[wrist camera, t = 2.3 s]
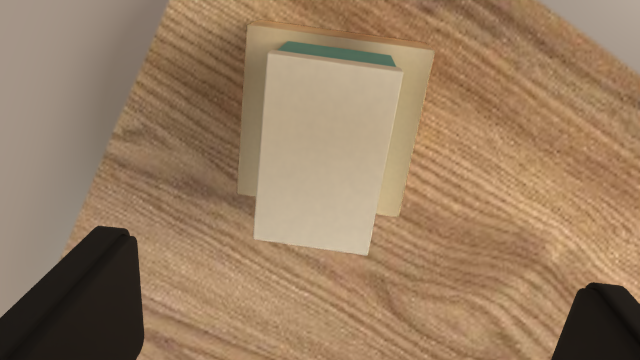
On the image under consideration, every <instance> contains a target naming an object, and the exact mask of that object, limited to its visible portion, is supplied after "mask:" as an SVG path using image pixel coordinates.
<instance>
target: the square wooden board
mask: <svg viewBox="0 0 640 360" xmlns="http://www.w3.org/2000/svg"><path fill="white" fill-rule="evenodd" d="M287 41H292V42H299V43H306V44H313V45H321V46H328V47H335V48H342V49H349V50H357V51H364V52H371V53H378V54H385V55H391V57H392V59H393V61H394V63H395V65H396V67H400V68H401V69H402V71H403V78H402V83H401V88H400V93H399V99H398V104H397V109H396V114H395V119H394V124H393V129H392V134H391V139H390V144H389V150H388V155H387V160H386V165H385V170H384V175H383V180H382V185H381V190H380V195H379V201H378V206H377V211H376V214H378V215H385V216H392V217H399V214H400V209H401V204H402V200H403V195H404V191H405V186H406V182H407V177H408V172H409V168H410V163H411V159H412V154H413V150H414V145H415V141H416V136H417V131H418V127H419V122H420V118H421V113H422V109H423V104H424V100H425V95H426V90H427V86H428V81H429V77H430V72H431V68H432V63H433V58H434V54H435V50H434V49H433V48H431V47H430V46H429V45H428V44H427V43H424V42H417V41H410V40H403V39H396V38H388V37H381V36H374V35H367V34H360V33H352V32H345V31H338V30H331V29H323V28H316V27H309V26H302V25H295V24H287V23H280V22H273V21H266V20H257V21H255V22H252V23H250V24H247V30H246V47H245V64H244V81H243V98H242V115H241V132H240V149H239V166H238V183H237V194H240V195H247V196H254V197H256V191H257V178H258V165H259V152H260V139H261V127H262V114H263V101H264V88H265V75H266V62H267V54H268V53H269V52H270V51H271V50H278V49H279V48H280V47H281V46H283V45H284V44H285V43H286V42H287Z"/></svg>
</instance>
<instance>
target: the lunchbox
mask: <svg viewBox="0 0 640 360" xmlns="http://www.w3.org/2000/svg"><path fill="white" fill-rule="evenodd" d="M402 78H403V71H402V69H401V68H400V67H396V65H395V63H394V61H393V59H392V57H391V55H385V54H378V53H371V52H364V51H357V50H349V49H342V48H335V47H328V46H321V45H313V44H306V43H299V42H292V41H287V42H286V43H285V44H284V45H283V46H281V47H280V48H279V49H278V50H271V51H270V52H269V53H268V54H267V62H266V75H265V88H264V101H263V114H262V127H261V139H260V152H259V165H258V178H257V191H256V204H255V217H254V229H253V239H256V240H263V241H270V242H277V243H284V244H291V245H297V246H304V247H311V248H318V249H325V250H332V251H338V252H345V253H352V254H359V255H368V251H369V246H370V241H371V236H372V231H373V226H374V221H375V216H376V211H377V206H378V201H379V195H380V190H381V185H382V180H383V175H384V170H385V165H386V160H387V155H388V150H389V144H390V139H391V134H392V129H393V124H394V119H395V114H396V109H397V104H398V99H399V93H400V88H401V83H402Z"/></svg>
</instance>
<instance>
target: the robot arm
mask: <svg viewBox="0 0 640 360" xmlns="http://www.w3.org/2000/svg"><path fill="white" fill-rule="evenodd" d="M143 342H144V325H143V312H142V299H141V286H140V272H139V259H138V246H137V240H136V238H135V237H134V236H130V234H129V232H128V230H127V229H124V228H115V227H106V226H97V227H96V228H94V229H93V230H92V231H91V232H90V233H89V234H88V235H87V236H86V237H85V238H84V239H83V240H82V241H81V242H80V243H79V244H78V245H77V246H75V247H74V248H73V249H72V250H71V251H70V252H69V253H68V254H67V255H66V256H65V257H64V258H63V259H62V260H61V261H60V262H59V263H58V264H57V265H55V266H54V267H53V268H52V269H51V270H50V271H49V272H48V273H47V274H46V275H45V276H44V277H43V278H42V279H41V280H40V281H39V282H38V283H37V284H36V285H34V287H32V288H31V289H30V290H29V291H28V292H27V293H26V294H25V295H24V296H23V297H22V298H21V299H20V300H19V301H18V302H17V303H16V304H15V305H13V306H12V308H10V309H9V310H8V311H7V312H6V313H5V314H4V315H3V316H2V317H1V318H0V360H136V359H137V357H138V355H139V353H140V351H141V349H142V346H143ZM551 360H640V304H639V303H638V302H637V301H636V299H635V298H634V297H633V296H632V295H631V294H630V293H629V292H628V290H627V289H625V288H624V287H623V286H619V285H611V284H602V283H594V282H593V283H589V284H588V285H587V286H586V288H582V289H580V290H579V291H578V292H577V294H576V296H575V299H574V301H573V304H572V307H571V309H570V312H569V314H568V317H567V320H566V322H565V325H564V327H563V330H562V333H561V335H560V338H559V341H558V343H557V346H556V348H555V351H554V354H553V356H552V359H551Z"/></svg>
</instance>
